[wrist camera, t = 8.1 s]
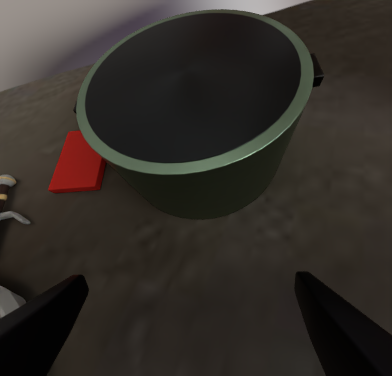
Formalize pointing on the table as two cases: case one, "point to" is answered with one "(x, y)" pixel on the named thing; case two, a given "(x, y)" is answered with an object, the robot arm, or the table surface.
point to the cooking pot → (198, 108)
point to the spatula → (77, 166)
